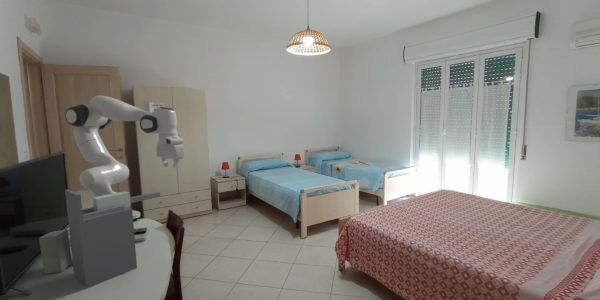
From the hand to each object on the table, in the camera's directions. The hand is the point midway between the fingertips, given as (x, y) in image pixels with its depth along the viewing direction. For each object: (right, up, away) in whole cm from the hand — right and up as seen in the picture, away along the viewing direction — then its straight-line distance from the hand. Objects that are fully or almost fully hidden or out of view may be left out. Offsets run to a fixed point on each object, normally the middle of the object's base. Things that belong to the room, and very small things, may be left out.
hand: (170, 167), depth 142 cm
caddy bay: (-15, -42, -25) cm, 51 cm away
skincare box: (-38, -43, -21) cm, 61 cm away
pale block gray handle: (-9, -15, -19) cm, 26 cm away
